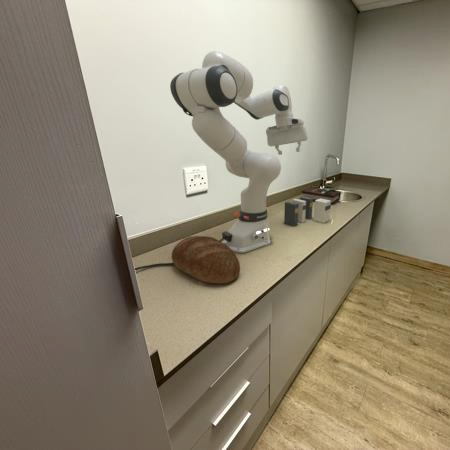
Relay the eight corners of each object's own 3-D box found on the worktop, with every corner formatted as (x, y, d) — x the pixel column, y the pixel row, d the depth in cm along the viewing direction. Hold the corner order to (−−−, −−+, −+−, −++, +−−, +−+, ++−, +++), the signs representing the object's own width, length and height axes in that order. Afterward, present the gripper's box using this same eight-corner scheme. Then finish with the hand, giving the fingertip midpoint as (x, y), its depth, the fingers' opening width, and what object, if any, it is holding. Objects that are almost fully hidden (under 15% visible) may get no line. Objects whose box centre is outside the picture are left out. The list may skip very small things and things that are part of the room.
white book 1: (302, 222, 136) (303, 202, 132) (292, 219, 140) (292, 199, 136) (305, 221, 139) (306, 201, 134) (295, 218, 142) (295, 198, 138)
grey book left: (294, 226, 130) (295, 204, 126) (284, 223, 134) (284, 202, 130) (297, 224, 133) (298, 203, 129) (287, 221, 136) (288, 201, 132)
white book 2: (324, 223, 137) (326, 202, 133) (313, 220, 141) (314, 200, 136) (326, 221, 139) (328, 201, 135) (316, 219, 143) (317, 199, 139)
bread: (199, 249, 100) (196, 223, 96) (251, 272, 86) (250, 243, 82) (161, 264, 88) (156, 235, 84) (215, 294, 73) (211, 261, 69)
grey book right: (309, 219, 142) (310, 199, 138) (299, 216, 146) (300, 197, 142) (312, 218, 145) (313, 198, 140) (302, 215, 148) (303, 196, 144)
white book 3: (326, 221, 140) (328, 201, 135) (316, 219, 143) (317, 199, 139) (329, 220, 142) (331, 200, 138) (318, 217, 146) (320, 198, 141)
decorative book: (308, 185, 197) (344, 190, 185) (308, 194, 200) (343, 200, 188) (298, 189, 181) (336, 195, 169) (297, 199, 184) (335, 205, 172)
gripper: (262, 126, 117) (267, 156, 120) (303, 118, 112) (307, 149, 115) (267, 128, 123) (272, 156, 126) (306, 120, 117) (310, 150, 121)
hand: (289, 153), depth 120 cm, fingers open, 8 cm apart
